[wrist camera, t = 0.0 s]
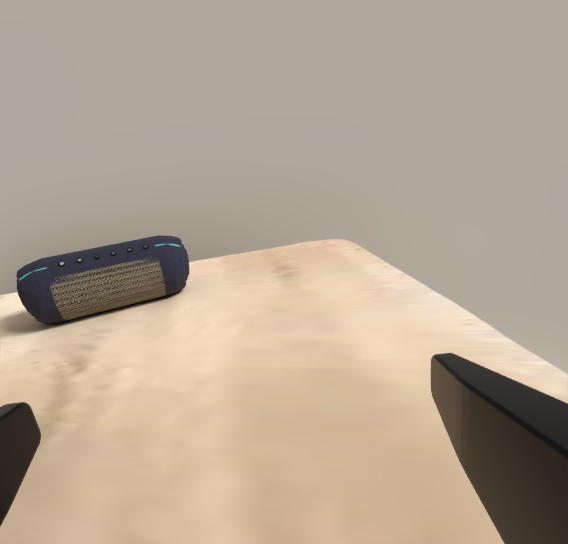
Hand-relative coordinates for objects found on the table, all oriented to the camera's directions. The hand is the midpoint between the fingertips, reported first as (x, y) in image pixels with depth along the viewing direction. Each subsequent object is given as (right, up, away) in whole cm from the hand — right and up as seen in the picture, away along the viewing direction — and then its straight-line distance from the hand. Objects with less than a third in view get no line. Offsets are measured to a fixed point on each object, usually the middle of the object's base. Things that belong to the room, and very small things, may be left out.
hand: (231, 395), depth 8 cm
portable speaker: (-26, -3, +54) cm, 60 cm away
